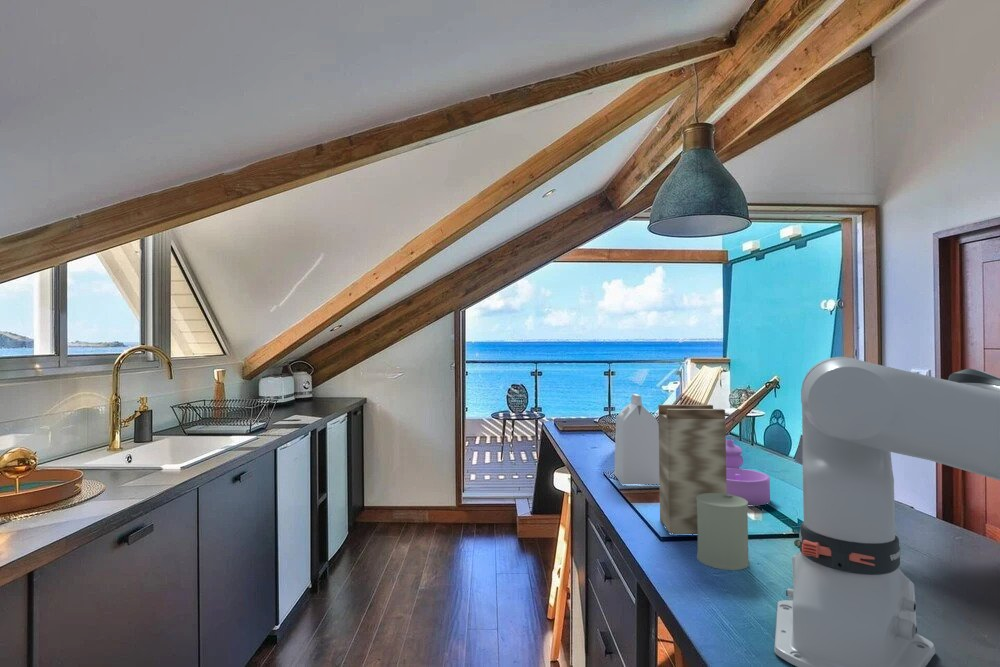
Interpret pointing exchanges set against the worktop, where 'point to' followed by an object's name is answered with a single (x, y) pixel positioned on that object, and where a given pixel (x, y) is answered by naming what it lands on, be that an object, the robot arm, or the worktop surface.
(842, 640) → the robot arm
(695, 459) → the post
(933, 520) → the worktop surface
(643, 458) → the milk
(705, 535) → the can
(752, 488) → the container set
